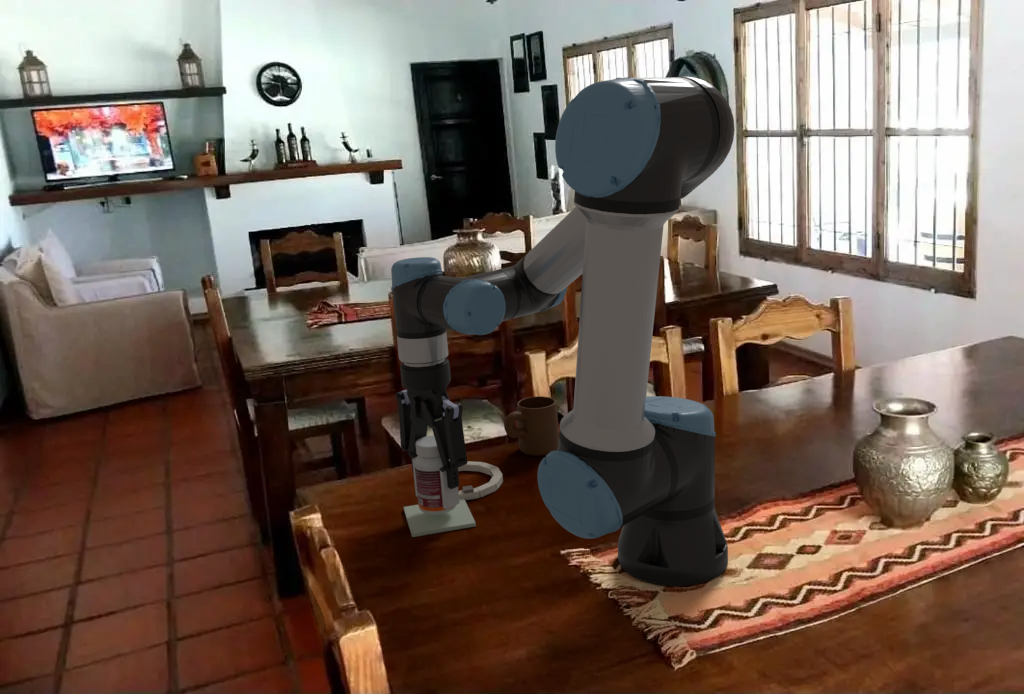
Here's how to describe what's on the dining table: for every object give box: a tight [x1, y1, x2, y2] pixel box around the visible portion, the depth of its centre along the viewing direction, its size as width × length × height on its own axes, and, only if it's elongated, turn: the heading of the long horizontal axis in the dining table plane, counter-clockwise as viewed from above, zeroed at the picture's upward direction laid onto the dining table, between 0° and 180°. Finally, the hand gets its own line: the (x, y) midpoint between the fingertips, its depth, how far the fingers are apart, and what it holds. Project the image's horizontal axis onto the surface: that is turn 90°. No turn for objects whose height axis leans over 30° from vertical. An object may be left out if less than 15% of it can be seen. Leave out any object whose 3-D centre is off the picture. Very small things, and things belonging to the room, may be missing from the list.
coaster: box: [403, 497, 477, 538], centre depth 139 cm, size 10×10×1 cm
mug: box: [503, 396, 559, 457], centre depth 162 cm, size 12×8×9 cm, turn 134°
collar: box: [458, 460, 504, 501], centre depth 151 cm, size 14×14×2 cm
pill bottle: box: [414, 434, 456, 515], centre depth 137 cm, size 6×6×11 cm
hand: (437, 499), depth 138 cm, fingers closed on pill bottle, 6 cm apart
